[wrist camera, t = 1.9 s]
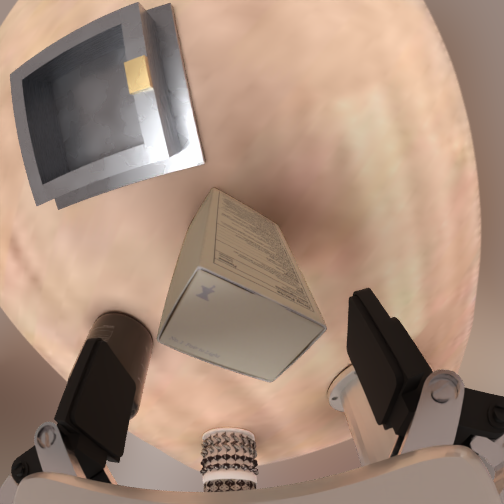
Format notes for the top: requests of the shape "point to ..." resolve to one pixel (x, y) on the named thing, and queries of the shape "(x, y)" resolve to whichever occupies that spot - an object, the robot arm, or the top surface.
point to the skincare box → (239, 294)
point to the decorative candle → (229, 460)
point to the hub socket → (106, 107)
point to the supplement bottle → (126, 347)
